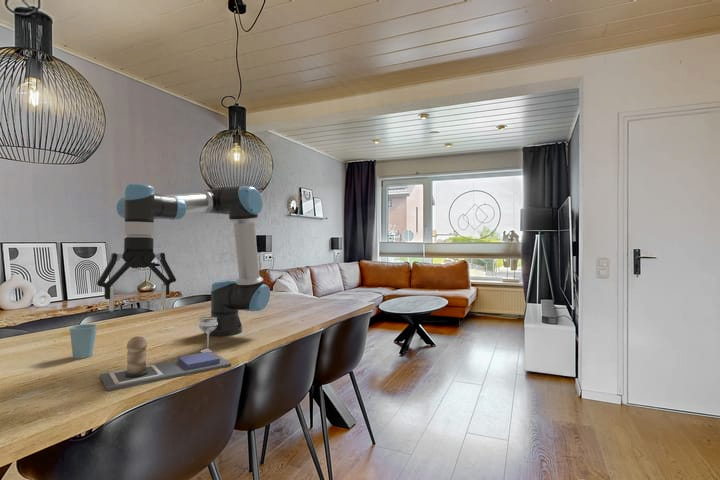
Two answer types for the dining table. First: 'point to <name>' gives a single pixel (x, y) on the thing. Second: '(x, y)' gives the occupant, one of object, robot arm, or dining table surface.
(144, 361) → the stamp
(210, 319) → the wineglass
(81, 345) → the cup
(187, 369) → the desk mat
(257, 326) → the dining table surface
